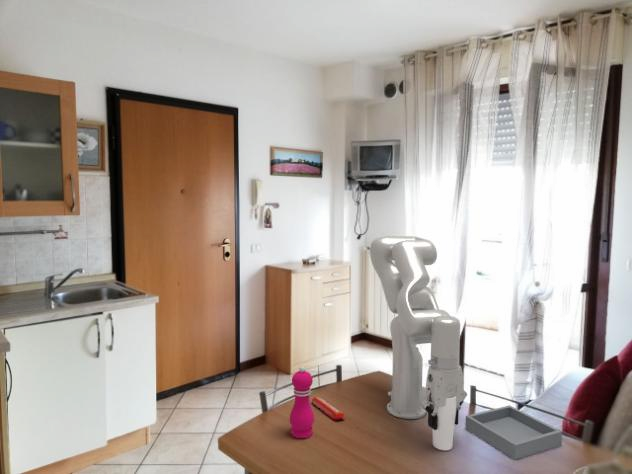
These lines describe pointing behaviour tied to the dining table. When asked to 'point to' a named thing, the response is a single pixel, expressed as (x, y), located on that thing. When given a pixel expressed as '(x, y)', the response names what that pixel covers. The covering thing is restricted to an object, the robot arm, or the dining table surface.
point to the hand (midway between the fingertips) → (443, 424)
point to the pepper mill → (302, 405)
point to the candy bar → (328, 408)
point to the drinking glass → (445, 425)
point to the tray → (513, 431)
